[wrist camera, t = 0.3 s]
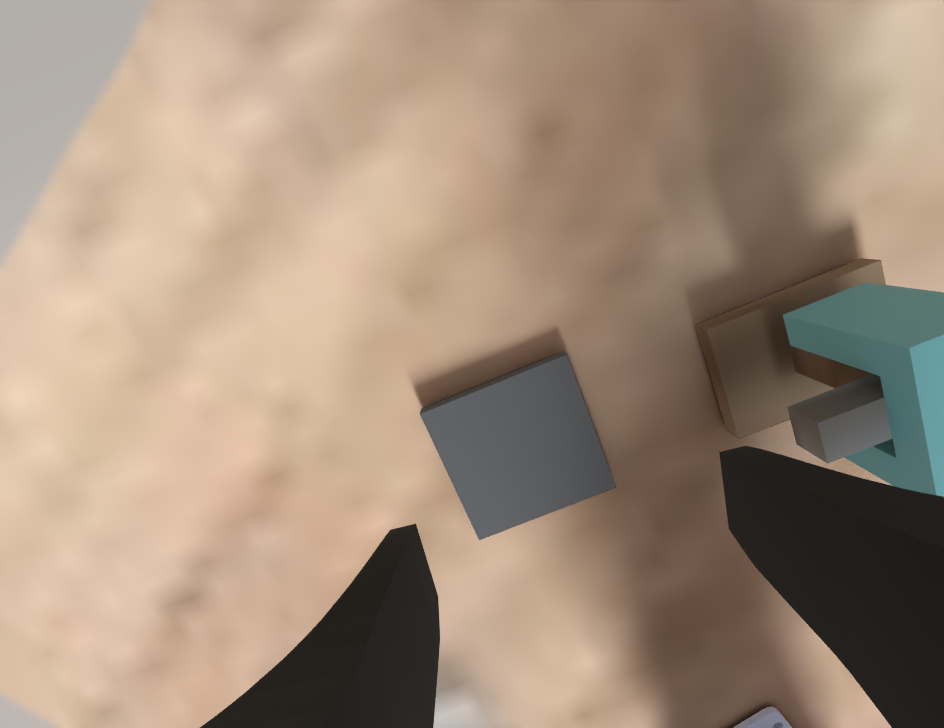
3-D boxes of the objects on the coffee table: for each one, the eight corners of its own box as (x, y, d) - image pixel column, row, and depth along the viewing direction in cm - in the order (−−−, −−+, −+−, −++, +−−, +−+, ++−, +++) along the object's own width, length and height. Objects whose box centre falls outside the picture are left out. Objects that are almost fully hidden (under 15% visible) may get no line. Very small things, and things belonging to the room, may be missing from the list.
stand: (882, 369, 22) (1065, 428, 15) (726, 429, 22) (839, 512, 16) (860, 258, 21) (1049, 272, 14) (695, 325, 21) (803, 368, 14)
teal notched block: (890, 410, 19) (1044, 474, 14) (813, 439, 19) (939, 512, 14) (864, 282, 18) (1024, 303, 13) (782, 315, 18) (909, 348, 13)
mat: (612, 480, 23) (616, 487, 22) (478, 532, 23) (479, 540, 22) (563, 351, 21) (566, 354, 20) (420, 409, 21) (420, 414, 21)
